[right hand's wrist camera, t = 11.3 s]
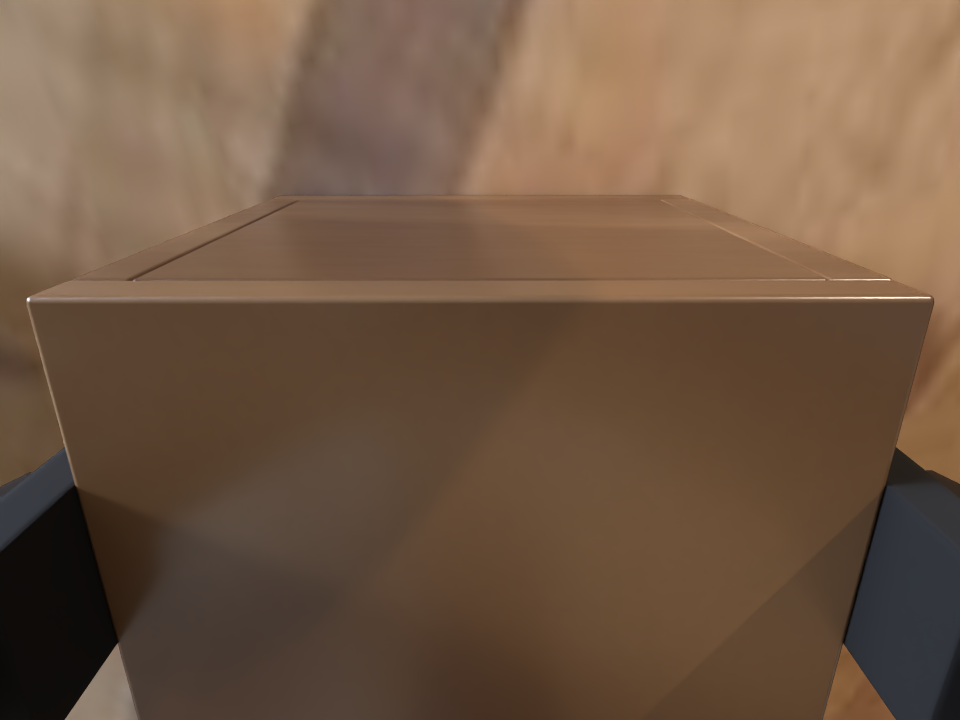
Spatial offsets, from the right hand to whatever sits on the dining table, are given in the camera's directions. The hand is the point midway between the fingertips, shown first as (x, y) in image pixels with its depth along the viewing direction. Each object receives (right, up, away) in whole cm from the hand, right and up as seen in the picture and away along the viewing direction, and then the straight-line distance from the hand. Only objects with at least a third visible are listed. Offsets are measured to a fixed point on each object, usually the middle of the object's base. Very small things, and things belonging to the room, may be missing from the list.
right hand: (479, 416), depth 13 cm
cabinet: (0, -2, +6) cm, 6 cm away
